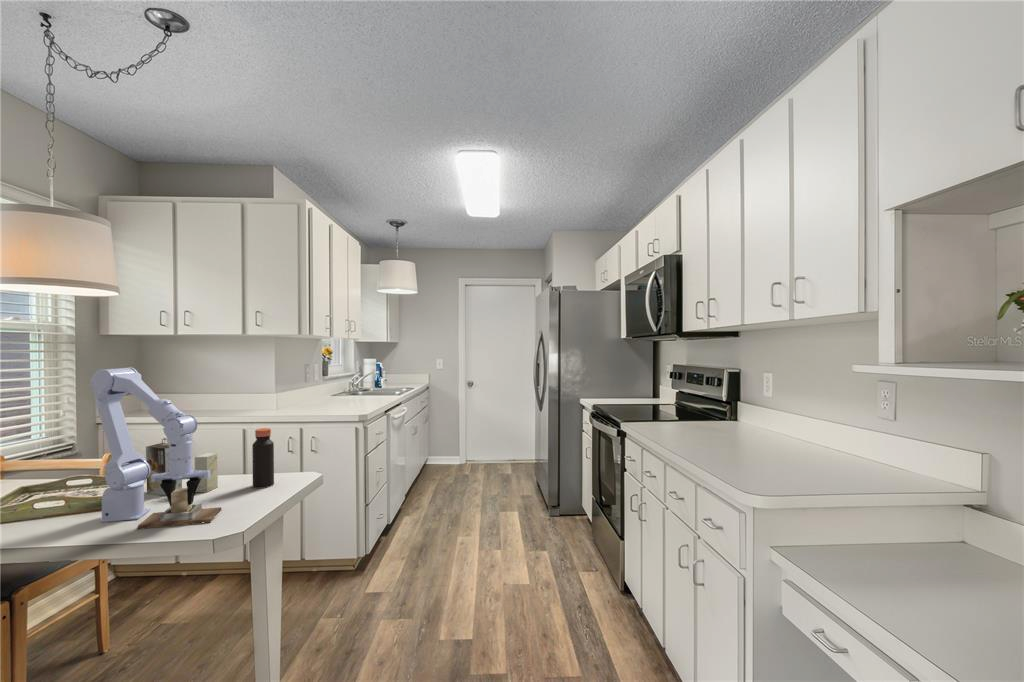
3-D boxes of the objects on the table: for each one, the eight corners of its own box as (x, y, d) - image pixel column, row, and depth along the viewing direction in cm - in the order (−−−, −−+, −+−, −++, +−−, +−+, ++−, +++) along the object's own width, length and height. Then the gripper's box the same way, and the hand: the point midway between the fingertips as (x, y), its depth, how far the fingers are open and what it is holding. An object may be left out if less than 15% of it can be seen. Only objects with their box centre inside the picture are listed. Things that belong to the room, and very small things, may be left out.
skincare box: (207, 492, 169) (206, 457, 169) (194, 492, 169) (193, 457, 169) (218, 486, 175) (218, 452, 175) (206, 486, 175) (205, 452, 175)
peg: (171, 513, 142) (171, 493, 142) (176, 509, 146) (176, 488, 146) (187, 512, 143) (186, 491, 143) (192, 507, 147) (191, 487, 147)
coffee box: (183, 490, 171) (183, 444, 171) (165, 496, 165) (165, 448, 165) (163, 488, 174) (162, 442, 174) (145, 493, 168) (144, 446, 168)
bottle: (253, 484, 178) (252, 428, 178) (274, 481, 181) (273, 427, 181) (252, 489, 172) (251, 432, 172) (273, 486, 175) (273, 430, 175)
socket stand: (137, 529, 137) (137, 518, 137) (153, 516, 147) (153, 506, 147) (211, 522, 142) (210, 512, 142) (221, 510, 152) (221, 500, 152)
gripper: (146, 463, 139) (146, 511, 139) (204, 459, 142) (205, 506, 143) (156, 456, 145) (157, 503, 146) (212, 453, 149) (212, 498, 149)
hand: (181, 504), depth 145 cm, fingers closed on peg, 4 cm apart
